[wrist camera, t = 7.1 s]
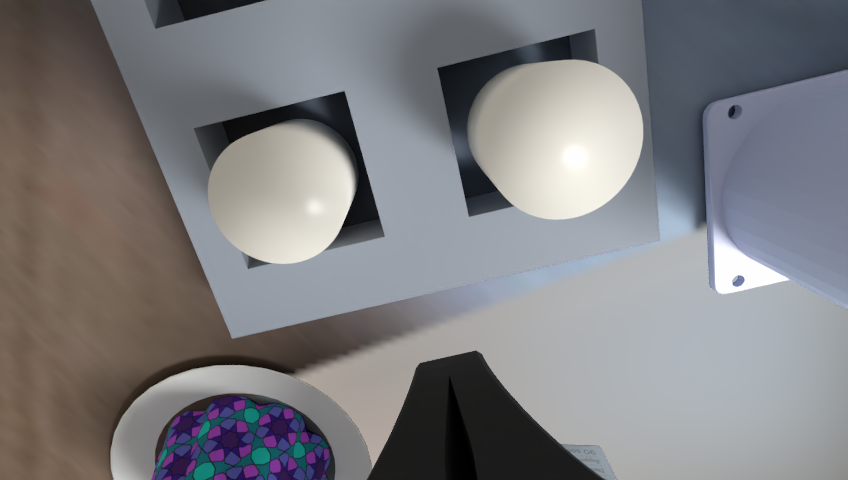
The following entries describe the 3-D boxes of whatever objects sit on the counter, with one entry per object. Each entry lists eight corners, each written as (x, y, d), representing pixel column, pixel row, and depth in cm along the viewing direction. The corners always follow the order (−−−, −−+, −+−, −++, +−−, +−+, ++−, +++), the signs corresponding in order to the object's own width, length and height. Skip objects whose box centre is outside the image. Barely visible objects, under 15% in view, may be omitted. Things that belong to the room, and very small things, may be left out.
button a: (578, 50, 15) (636, 41, 11) (593, 171, 17) (649, 200, 13) (455, 80, 15) (472, 82, 12) (479, 198, 17) (501, 234, 13)
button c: (341, 106, 17) (323, 116, 13) (371, 212, 18) (362, 247, 15) (233, 133, 17) (186, 149, 14) (270, 235, 19) (236, 277, 15)
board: (572, -365, 14) (607, -457, 11) (629, 220, 20) (659, 240, 17) (46, -217, 14) (-25, -275, 12) (252, 307, 20) (232, 338, 18)
